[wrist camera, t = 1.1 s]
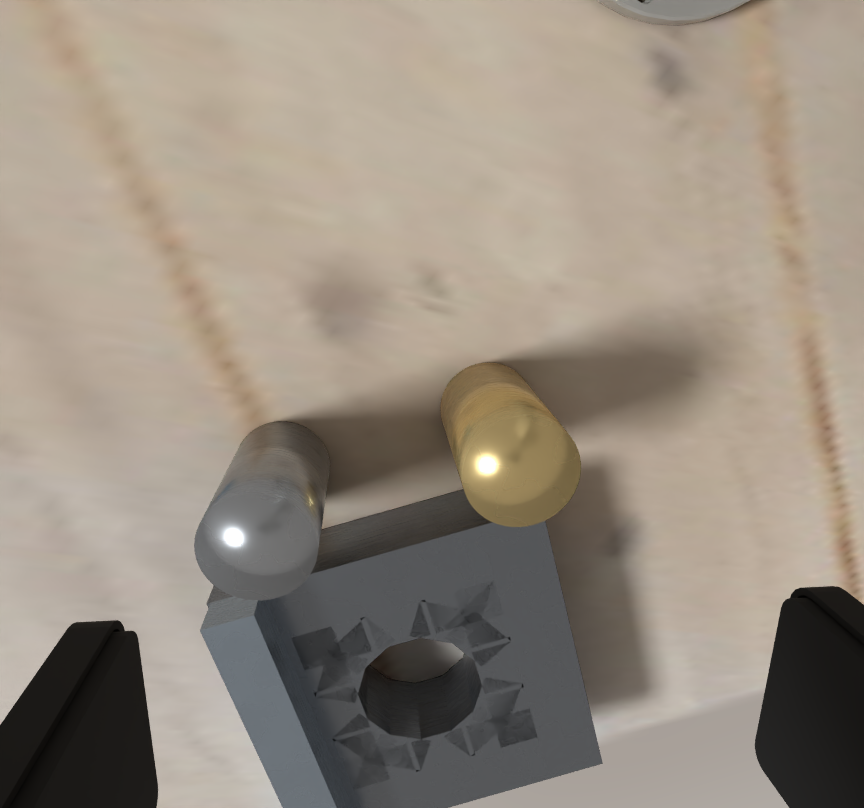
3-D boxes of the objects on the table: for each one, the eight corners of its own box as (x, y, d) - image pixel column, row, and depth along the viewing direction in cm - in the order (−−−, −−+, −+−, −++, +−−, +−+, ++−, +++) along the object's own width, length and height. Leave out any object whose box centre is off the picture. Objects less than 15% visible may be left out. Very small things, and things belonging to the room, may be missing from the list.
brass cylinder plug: (520, 351, 32) (568, 401, 24) (540, 435, 33) (590, 508, 25) (429, 377, 32) (448, 435, 24) (453, 460, 33) (478, 540, 25)
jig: (522, 472, 34) (553, 529, 28) (579, 707, 39) (615, 796, 33) (224, 557, 34) (195, 631, 28) (321, 781, 39) (313, 882, 33)
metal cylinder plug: (313, 410, 32) (295, 479, 24) (341, 492, 33) (333, 581, 25) (222, 436, 32) (175, 513, 24) (254, 517, 33) (220, 613, 25)
